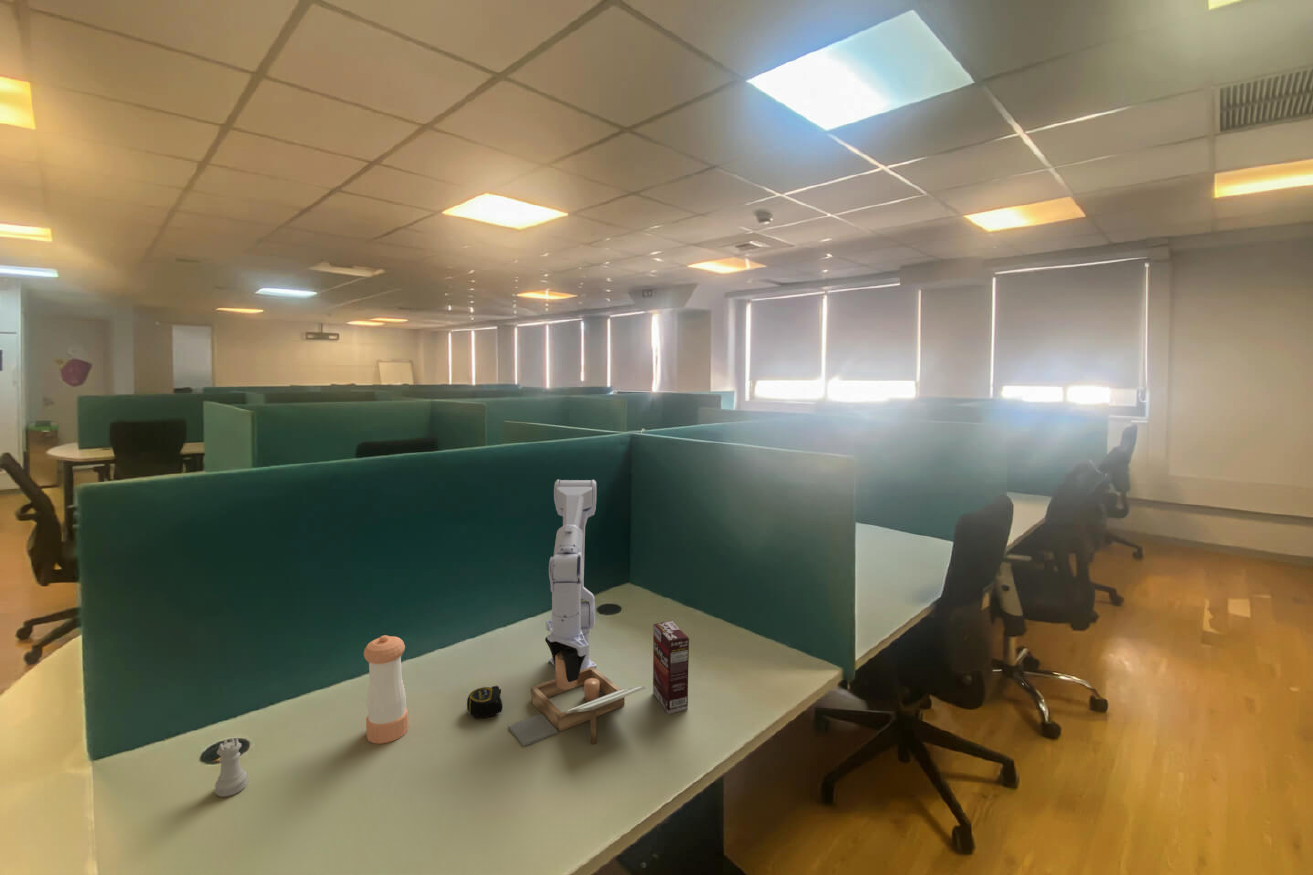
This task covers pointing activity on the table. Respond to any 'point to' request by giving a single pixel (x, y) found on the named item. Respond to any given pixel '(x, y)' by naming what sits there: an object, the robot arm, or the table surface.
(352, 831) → the table surface
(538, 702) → the frame
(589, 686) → the tan rounded cylinder
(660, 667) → the supplement box
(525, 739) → the mat
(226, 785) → the rook chess piece
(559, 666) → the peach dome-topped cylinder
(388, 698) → the pepper shaker
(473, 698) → the tape measure
